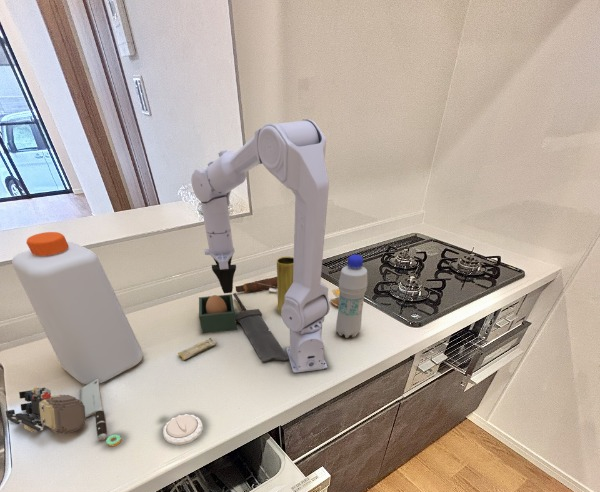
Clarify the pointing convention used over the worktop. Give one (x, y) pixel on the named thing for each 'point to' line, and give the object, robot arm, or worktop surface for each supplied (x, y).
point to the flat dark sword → (259, 334)
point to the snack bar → (196, 349)
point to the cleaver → (94, 406)
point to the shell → (336, 293)
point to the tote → (217, 316)
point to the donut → (114, 443)
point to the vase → (284, 278)
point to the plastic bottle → (77, 308)
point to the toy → (49, 411)
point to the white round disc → (182, 429)
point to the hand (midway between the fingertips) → (227, 285)
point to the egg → (215, 305)
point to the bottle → (351, 297)
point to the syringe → (271, 289)
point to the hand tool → (258, 285)
